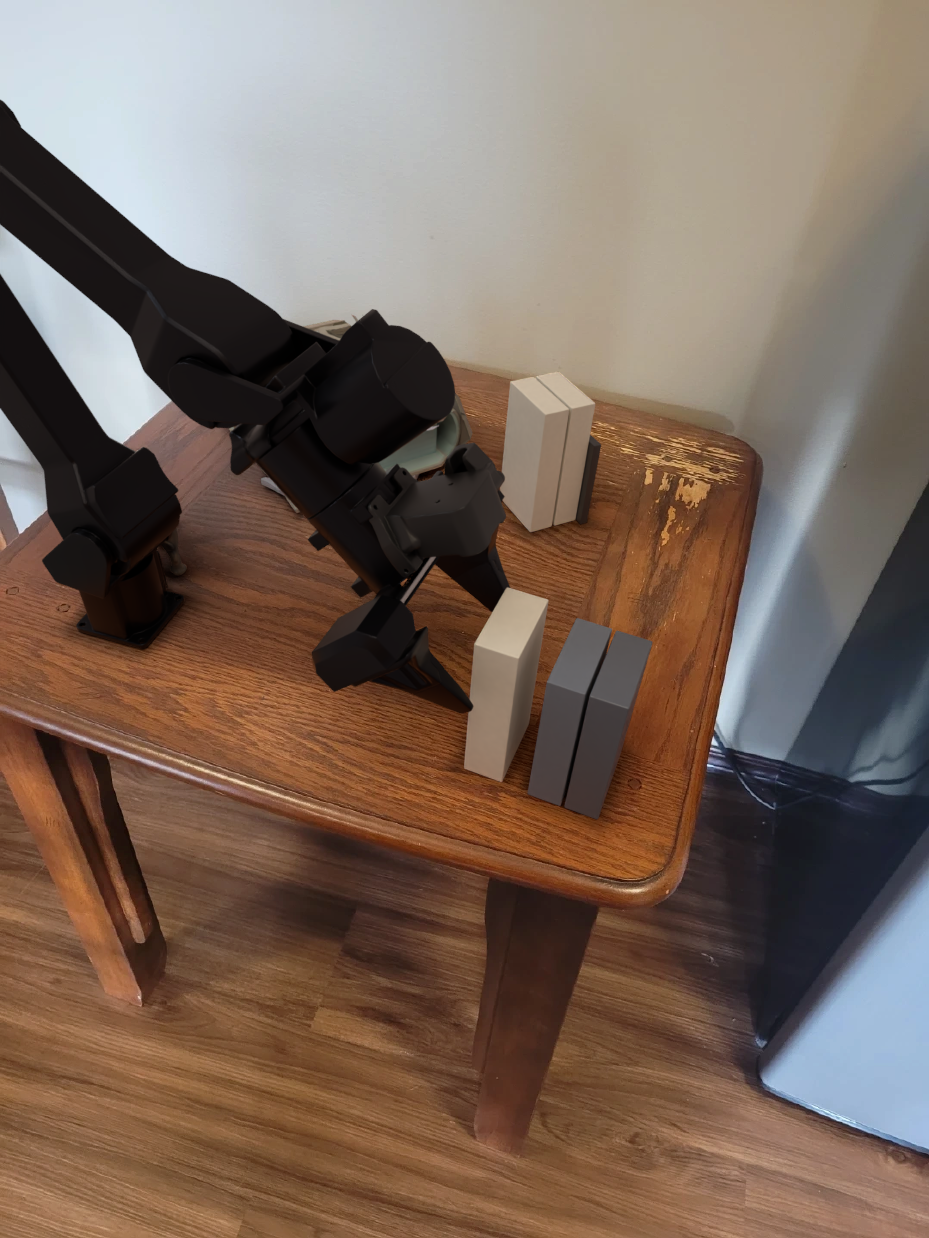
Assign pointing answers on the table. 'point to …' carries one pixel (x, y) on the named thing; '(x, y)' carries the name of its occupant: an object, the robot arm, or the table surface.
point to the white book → (504, 682)
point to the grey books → (586, 716)
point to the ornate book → (421, 450)
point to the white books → (549, 452)
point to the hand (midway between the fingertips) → (493, 663)
